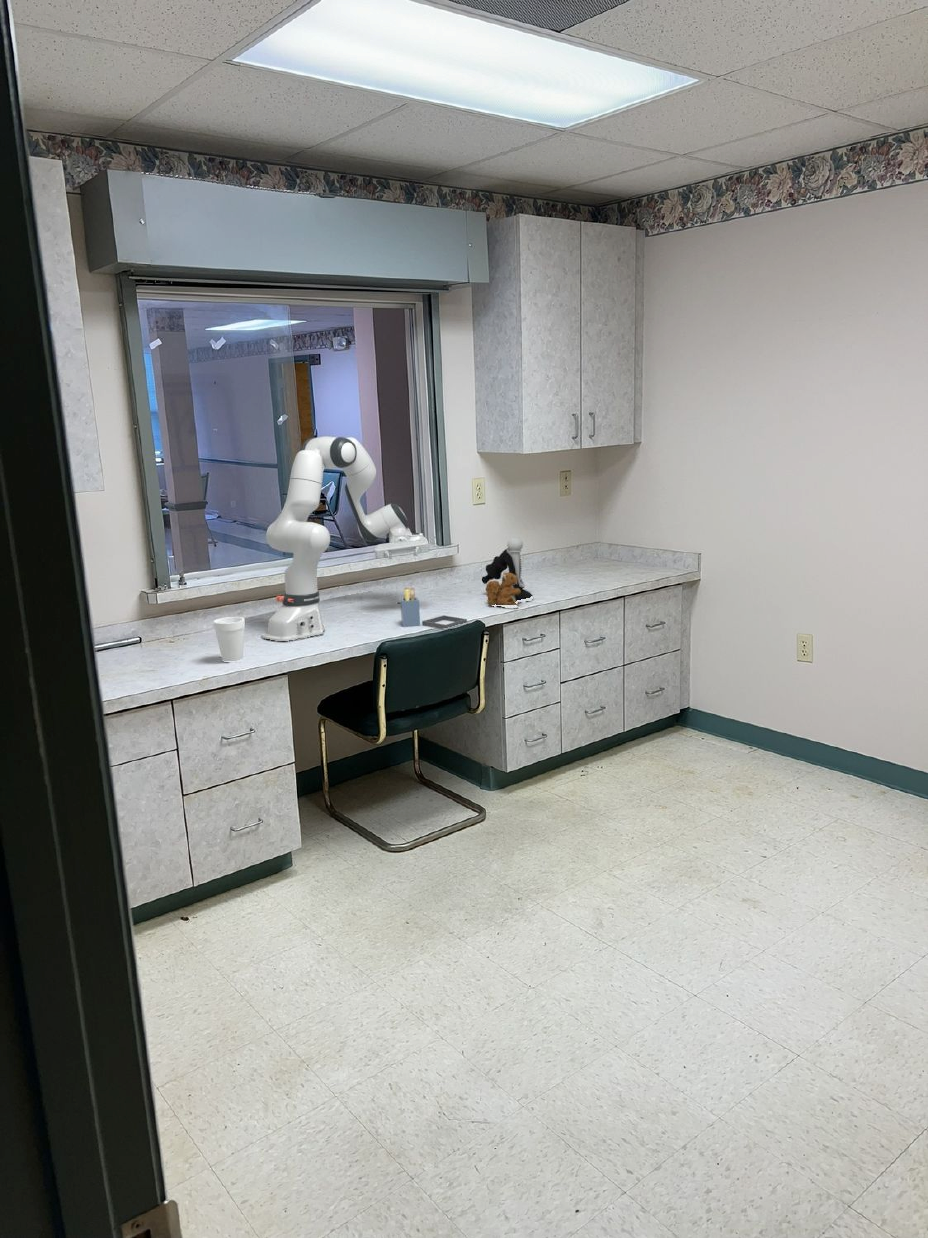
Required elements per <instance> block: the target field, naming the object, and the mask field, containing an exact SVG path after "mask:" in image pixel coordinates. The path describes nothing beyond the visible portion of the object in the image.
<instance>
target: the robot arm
mask: <svg viewBox="0 0 928 1238" xmlns="http://www.w3.org/2000/svg"><path fill="white" fill-rule="evenodd" d="M325 469H328V470H329V469H342V471H343V473H344V475H345V476H346V483H345V485H344V490H345V495H346V498H347V501H348V503H349V506H350V509H351V511H352V514H353V516H354V519H355V521H356V524H357V528H358V533H359V535H360V537H361V538H362V539H363V541H366V542H370V543H374V542H376V541H378V540H380V539H381V538H382V537H384V536H386V535H387V534H389V535H388V539H389V540H388V541H389V542H386V543H379V544H377V545H376V546H375V547H374V548H373V551H374V556H375V559H378V560H381V559H382V560H383V559H388V560H393V558H395V557H397V558H398V557H405V556H408V555H413V556H414V557H416V556H419V554H424V553H428V552H430V543H429V541H428V539H427V538H426V537H425V536H424V533H422V532H411V529H410V528H409V520H408V517H407V514H406V513H405V512H404V510H403V509H402V507H401V506H400V505H398V504H396V503H389V504H387V505H385V506H383V507H381V508H379V509H378V510H376V511H373V512H372V513H370V514H365V512H364V508H363V506H362V504H361V498H362V497H363V495H364V494H365V493H366V491H367V490H368V489H369V488H370V487H371V486H372V484H373V483H374V481H375V480H376V476H377V468H376V466H375V463H374V461H373V459H372V457H371V456H370V454H369V453H368V452H367V450H366V449H365V447H364V446H363V445H362V444H361V443H360V442H359V441H358V439H356V438H355V437H351V436H349V437H343V436H338V437H337V436H329V435H328V436H320V437H317V436H315V437H310V438H308V439H306V440H305V441H304V442H303V443H302V445H301V447H300V450H299V451H298V452H297V453H296V455H295V458H294V461H293V463H292V466H291V472H290V476H289V483H288V489H287V495H286V499H285V502H284V506H283V508H282V510H281V512H280V514H279V515H278V517H277V518H276V519H275V521H273V522H272V523H271V524H270V525H269V526H268V528H266V529H267V530H266V534H265V538H266V542H267V544H268V546H269V547H270V548H272V549H274V550H277V551H280V552H283V553H291V554H293V557H292V562H291V564H290V565H289V566H288V567H286V568H285V570H284V587H285V593H284V596H283V595H282V596H281V595H277V596H276V600H277V602H280V603H282V604H281V606H280V607H279V608H278V609H277V611H275V613H273V615H272V616H271V617H270V618H269V620H268V621H267V622H268V624H267V631H266V632H264V633H262V634H261V638H262V639H264V638H267V639H270V640H269V641H271V640H275V641H274V642H277V641H288V642H290V641H289V640H293V639H298V638H304V639H308V638H307V637H309V638H311V637H310V636H314V635H319V634H323V635H324V633H325V631H326V627H325V625H324V622H323V619H322V614H321V609H320V599H321V598H320V592H319V591H320V590H319V589H318V565H319V561H320V558H321V556H322V555H323V554H324V552H326V550H328V548H329V546H330V544H331V534H330V531H329V529H328V528H327V527H326V526H324V525H322V524H319V523H316V522H312V521H307V520H308V518H309V517H310V515H311V514H312V513H313V512H314V511H316V510H317V509H318V507H319V506H320V501H321V492H322V487H323V478H324V477H323V476H324V471H325ZM324 630H325V631H324ZM323 631H324V632H323ZM319 636H320V635H319ZM314 637H315V636H314ZM298 640H299V639H298ZM293 641H294V640H293Z"/></svg>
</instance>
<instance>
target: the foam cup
mask: <svg viewBox="0 0 928 1238" xmlns="http://www.w3.org/2000/svg"><path fill="white" fill-rule="evenodd" d="M245 623H246V621H245V618H244V617H241V616H228V617H227V616H226V617H220V618H217V619H215V620H213V629H214V630H215V635H216V638H217V643H218V649H219V652H220V655H221V657H220V658H221V660H222V661H223V660H224V661H237V660H240V659H242V658H243V659H244V647H245V645H244V643H245V628H246V624H245Z"/></svg>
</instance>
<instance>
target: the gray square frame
mask: <svg viewBox="0 0 928 1238" xmlns="http://www.w3.org/2000/svg"><path fill="white" fill-rule="evenodd" d="M441 621H442V622H443V621H448V622H450V623H447V624H443V623H439V622H441ZM466 622H467V623H468V619H466V618H462V617H456V616H449V615H439V616H436V617H433V618H429V619H425V620H422V624H421V625H422V626H423V627H428V628H433V629H434V628H435V629H441V630H444V629H443V628H448V627H452V626H455V625H458V624H463V623H466Z"/></svg>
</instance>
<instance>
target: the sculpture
mask: <svg viewBox="0 0 928 1238" xmlns="http://www.w3.org/2000/svg"><path fill="white" fill-rule="evenodd" d="M506 545H507V546H506V548H505V549H504V550H503V551H502V552H501V553H500V554H499V555H497V556H496V555H495V557H494V558H493V560H492V562H491V563H490V564H486V565H485V571H486V573H487V574H486V575H485V576H484V575H483V576H481V577H482V578H481V582H482V583H483V584H484V585H487V584H488V582H490V581H493V580H500V579H502V573H503V572H504V571H505V570H507V569H508V573H512V574H514V575H516V576H517V583H516V584H515V585H513V587H514V588H519V589H520V590H521V593H520V594H519V595H514V596H515V600H521V599H526V598H530V597H531V596H534V595H533V594H532V593H531V592H530V591H528V590H527V589H524V588H525V586H526V584H525V582H524V581H523V578H522V569H523V568H522V567H523V565H522V564H523V563H522V557H521V552H522V549H523V546H524V543H523V540H522V539H520V538H519V537H512V538H510V539H508V541H507V543H506Z"/></svg>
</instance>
